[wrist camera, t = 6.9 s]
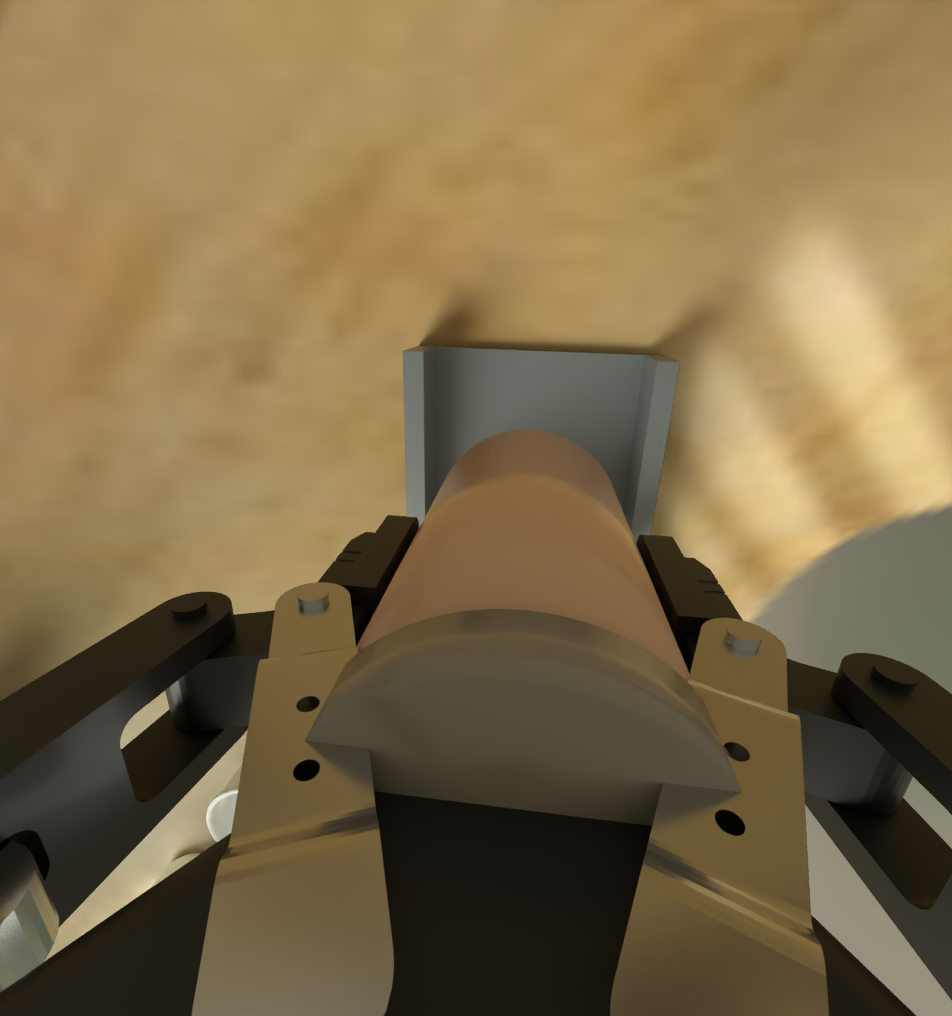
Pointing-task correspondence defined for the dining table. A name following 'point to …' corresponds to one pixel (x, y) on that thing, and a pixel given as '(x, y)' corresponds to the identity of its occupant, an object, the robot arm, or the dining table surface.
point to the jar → (525, 651)
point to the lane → (539, 414)
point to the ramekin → (223, 809)
